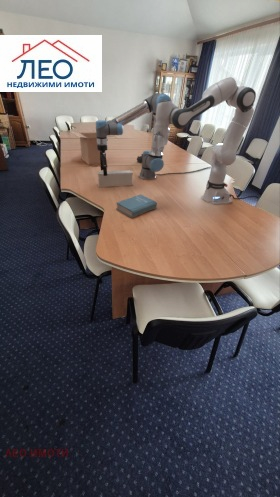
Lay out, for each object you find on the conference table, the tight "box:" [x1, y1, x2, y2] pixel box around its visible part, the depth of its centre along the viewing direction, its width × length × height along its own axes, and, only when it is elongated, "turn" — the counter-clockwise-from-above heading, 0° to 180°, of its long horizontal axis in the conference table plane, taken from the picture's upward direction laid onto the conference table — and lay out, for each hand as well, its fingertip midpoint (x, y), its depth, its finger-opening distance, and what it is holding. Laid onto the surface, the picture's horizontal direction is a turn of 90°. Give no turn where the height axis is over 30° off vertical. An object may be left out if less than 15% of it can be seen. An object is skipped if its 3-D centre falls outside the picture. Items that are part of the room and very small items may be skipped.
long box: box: [97, 169, 134, 188], centre depth 183 cm, size 28×6×11 cm, turn 107°
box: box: [70, 129, 114, 166], centre depth 229 cm, size 44×36×27 cm
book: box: [115, 194, 158, 219], centre depth 150 cm, size 23×16×5 cm
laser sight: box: [136, 153, 143, 164], centre depth 240 cm, size 10×22×10 cm, turn 78°
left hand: (103, 172), depth 177 cm, fingers open, 13 cm apart
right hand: (158, 154), depth 146 cm, fingers open, 8 cm apart
